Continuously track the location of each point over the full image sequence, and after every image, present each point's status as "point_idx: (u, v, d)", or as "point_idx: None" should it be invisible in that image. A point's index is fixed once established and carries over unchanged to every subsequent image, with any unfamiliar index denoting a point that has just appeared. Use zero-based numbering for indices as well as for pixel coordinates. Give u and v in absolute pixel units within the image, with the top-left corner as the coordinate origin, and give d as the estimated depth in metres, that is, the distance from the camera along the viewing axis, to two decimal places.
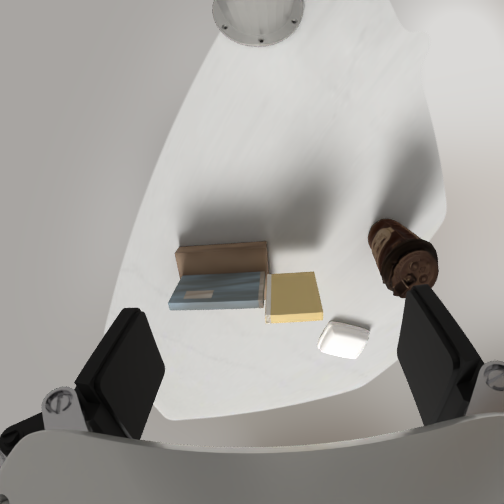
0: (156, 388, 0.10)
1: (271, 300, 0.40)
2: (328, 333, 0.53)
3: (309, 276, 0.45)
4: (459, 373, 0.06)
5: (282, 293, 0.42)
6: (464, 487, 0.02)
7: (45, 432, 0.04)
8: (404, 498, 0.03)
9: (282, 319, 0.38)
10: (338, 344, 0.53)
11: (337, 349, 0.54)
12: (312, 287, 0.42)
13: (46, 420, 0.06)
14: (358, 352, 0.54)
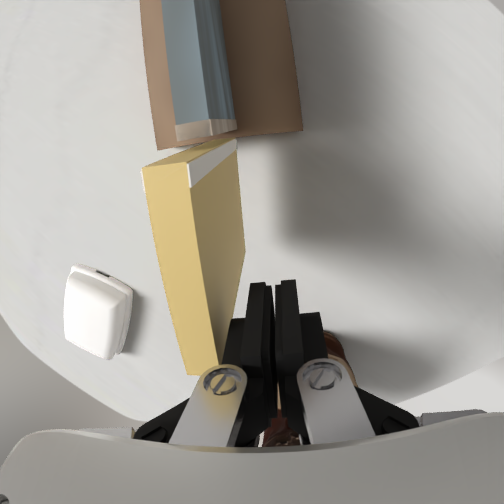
0: None
1: (213, 170, 0.11)
2: (109, 292, 0.24)
3: (242, 248, 0.18)
4: (285, 365, 0.08)
5: (224, 198, 0.13)
6: (464, 487, 0.02)
7: (45, 432, 0.04)
8: (404, 498, 0.03)
9: (171, 242, 0.08)
10: (89, 314, 0.24)
11: (78, 312, 0.24)
12: (236, 276, 0.15)
13: (195, 394, 0.07)
14: (80, 345, 0.26)
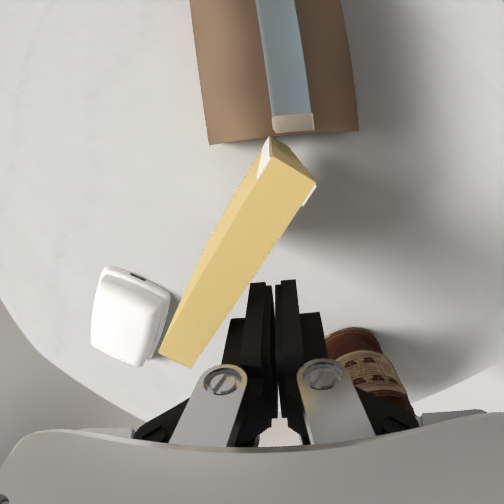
0: None
1: None
2: (146, 297, 0.24)
3: None
4: (285, 365, 0.08)
5: None
6: (464, 487, 0.02)
7: (45, 432, 0.04)
8: (404, 498, 0.03)
9: (245, 238, 0.08)
10: (124, 320, 0.24)
11: (111, 317, 0.24)
12: None
13: (195, 394, 0.07)
14: (108, 352, 0.25)
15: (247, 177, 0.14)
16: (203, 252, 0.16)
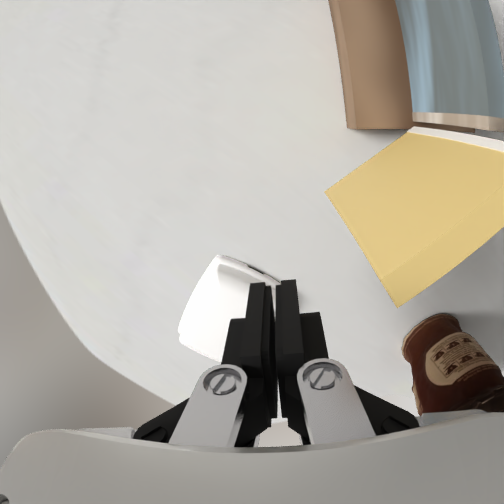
0: None
1: None
2: None
3: None
4: (285, 365, 0.08)
5: None
6: (464, 487, 0.02)
7: (45, 432, 0.04)
8: (404, 498, 0.03)
9: None
10: (238, 316, 0.23)
11: (222, 313, 0.23)
12: None
13: (195, 394, 0.07)
14: (203, 351, 0.25)
15: (418, 151, 0.13)
16: (343, 201, 0.14)
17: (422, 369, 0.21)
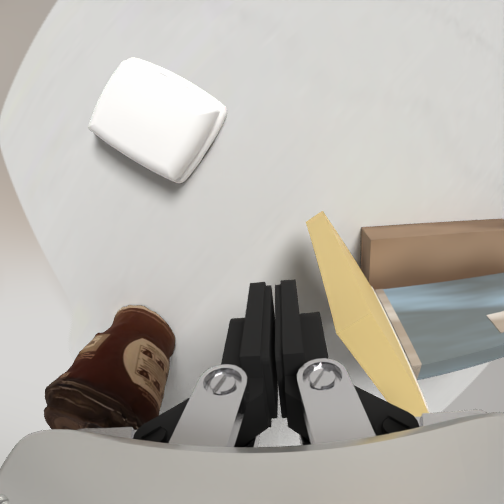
0: None
1: None
2: (186, 166, 0.20)
3: None
4: (285, 365, 0.08)
5: None
6: (464, 487, 0.02)
7: (45, 432, 0.04)
8: (404, 498, 0.03)
9: (407, 398, 0.10)
10: (159, 133, 0.18)
11: (164, 115, 0.17)
12: None
13: (195, 394, 0.07)
14: (111, 90, 0.17)
15: (378, 303, 0.16)
16: (337, 237, 0.15)
17: (126, 340, 0.22)
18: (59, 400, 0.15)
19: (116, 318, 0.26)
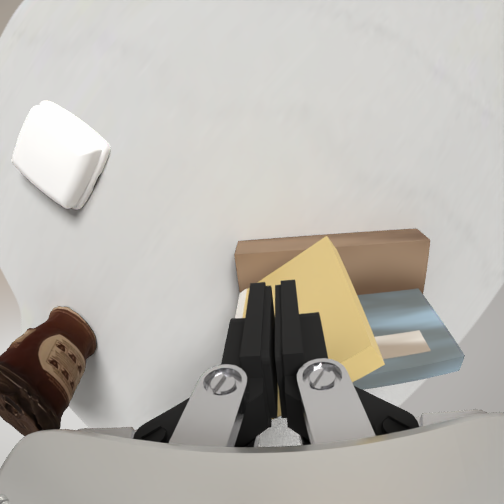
0: None
1: None
2: (76, 197, 0.21)
3: (319, 251, 0.18)
4: (284, 365, 0.08)
5: None
6: (464, 487, 0.02)
7: (45, 432, 0.04)
8: (404, 498, 0.03)
9: None
10: (53, 171, 0.20)
11: (56, 155, 0.19)
12: (329, 275, 0.15)
13: (195, 394, 0.07)
14: (23, 132, 0.18)
15: None
16: None
17: (46, 335, 0.23)
18: None
19: (49, 317, 0.27)
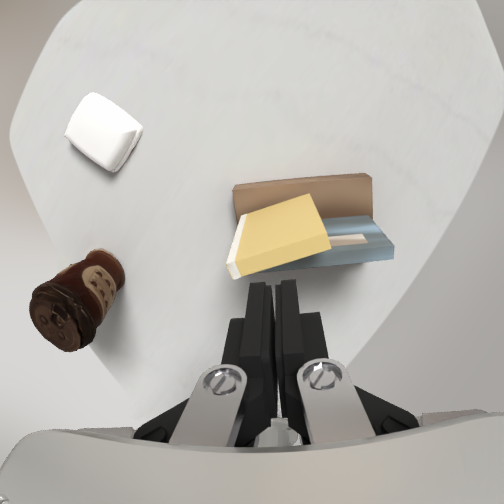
0: None
1: (240, 242, 0.24)
2: (116, 162, 0.31)
3: (302, 199, 0.28)
4: (285, 365, 0.08)
5: (259, 229, 0.25)
6: (464, 487, 0.02)
7: (45, 432, 0.04)
8: (404, 498, 0.03)
9: (258, 264, 0.21)
10: (101, 143, 0.29)
11: (104, 132, 0.29)
12: (307, 209, 0.25)
13: (195, 394, 0.07)
14: (77, 114, 0.28)
15: None
16: None
17: (87, 266, 0.33)
18: (39, 295, 0.26)
19: None
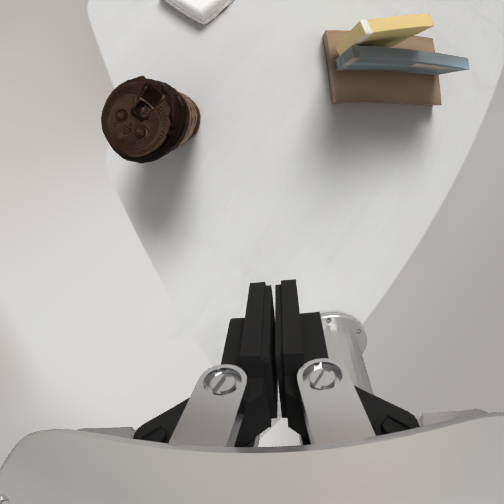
0: None
1: None
2: (210, 12, 0.29)
3: None
4: (285, 365, 0.08)
5: None
6: (464, 487, 0.02)
7: (45, 432, 0.04)
8: (404, 498, 0.03)
9: (385, 25, 0.18)
10: None
11: None
12: None
13: (195, 394, 0.07)
14: None
15: None
16: (400, 41, 0.24)
17: None
18: None
19: None
